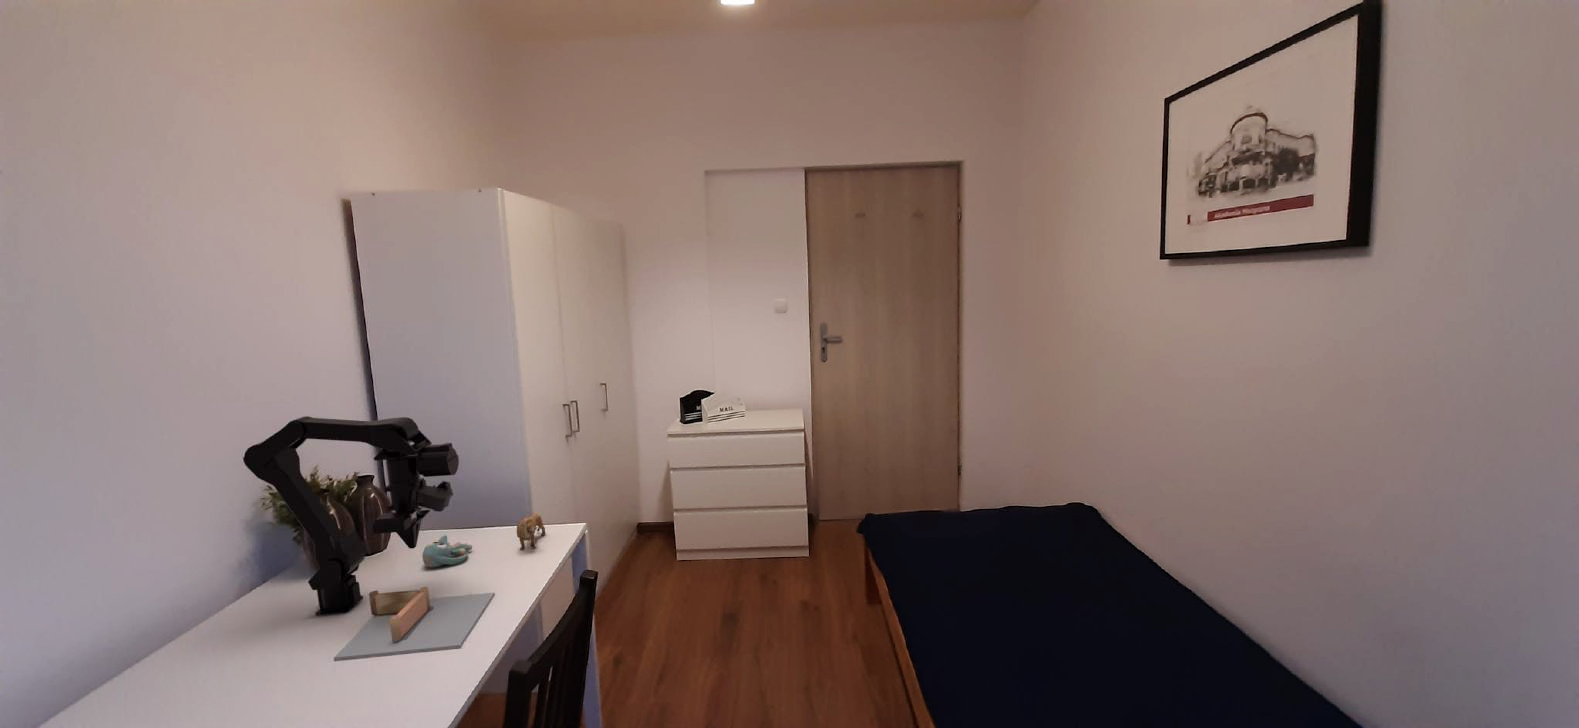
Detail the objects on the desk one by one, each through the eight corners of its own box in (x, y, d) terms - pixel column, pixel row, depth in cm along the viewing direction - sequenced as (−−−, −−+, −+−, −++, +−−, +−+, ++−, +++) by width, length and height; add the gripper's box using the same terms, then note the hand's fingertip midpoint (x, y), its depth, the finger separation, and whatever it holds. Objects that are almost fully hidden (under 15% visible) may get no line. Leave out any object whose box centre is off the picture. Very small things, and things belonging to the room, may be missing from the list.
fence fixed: (370, 615, 130) (367, 595, 130) (374, 611, 132) (371, 591, 131) (419, 610, 132) (416, 590, 131) (422, 606, 133) (420, 586, 132)
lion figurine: (538, 554, 159) (535, 520, 158) (515, 556, 158) (512, 522, 157) (547, 531, 173) (544, 499, 172) (527, 533, 172) (523, 501, 171)
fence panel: (424, 606, 133) (421, 586, 132) (432, 606, 133) (429, 586, 133) (390, 642, 120) (387, 620, 120) (399, 641, 121) (396, 619, 120)
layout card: (334, 660, 117) (333, 657, 117) (387, 604, 136) (387, 601, 136) (460, 647, 119) (459, 644, 119) (494, 595, 139) (494, 592, 139)
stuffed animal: (484, 533, 160) (439, 543, 149) (482, 562, 160) (437, 573, 149) (457, 526, 165) (411, 535, 154) (455, 554, 164) (409, 565, 154)
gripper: (425, 490, 126) (434, 564, 128) (461, 462, 144) (468, 527, 146) (365, 494, 124) (375, 569, 127) (409, 465, 143) (417, 531, 145)
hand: (412, 547), depth 136 cm, fingers closed
